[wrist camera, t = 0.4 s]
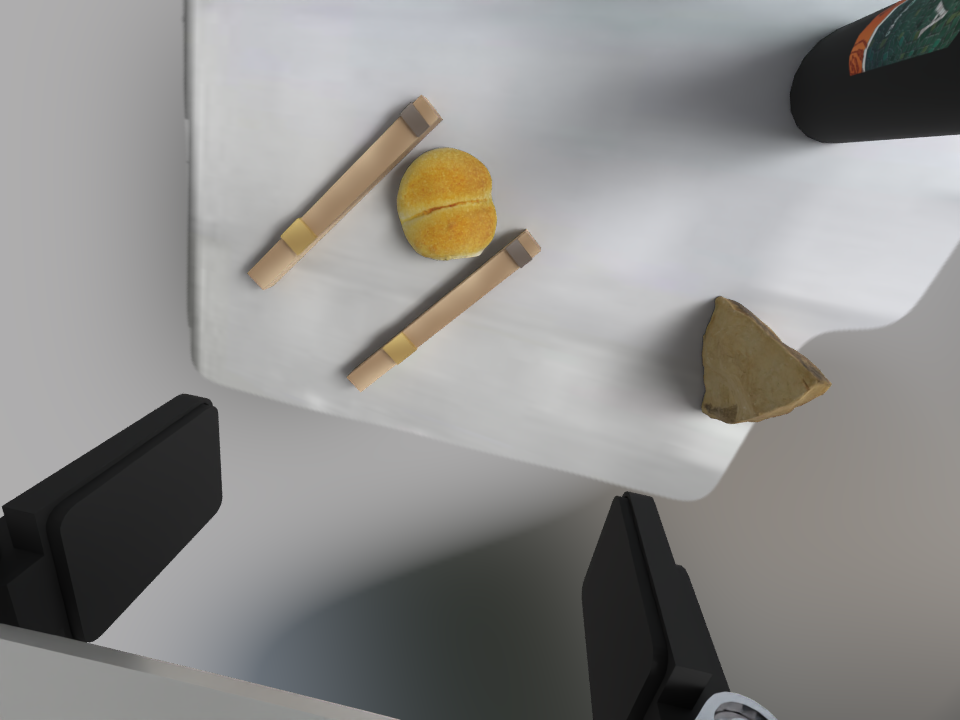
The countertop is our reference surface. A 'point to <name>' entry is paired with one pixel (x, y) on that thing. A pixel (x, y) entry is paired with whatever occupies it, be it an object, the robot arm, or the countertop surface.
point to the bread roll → (447, 205)
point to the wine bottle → (883, 76)
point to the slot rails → (344, 197)
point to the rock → (752, 369)
